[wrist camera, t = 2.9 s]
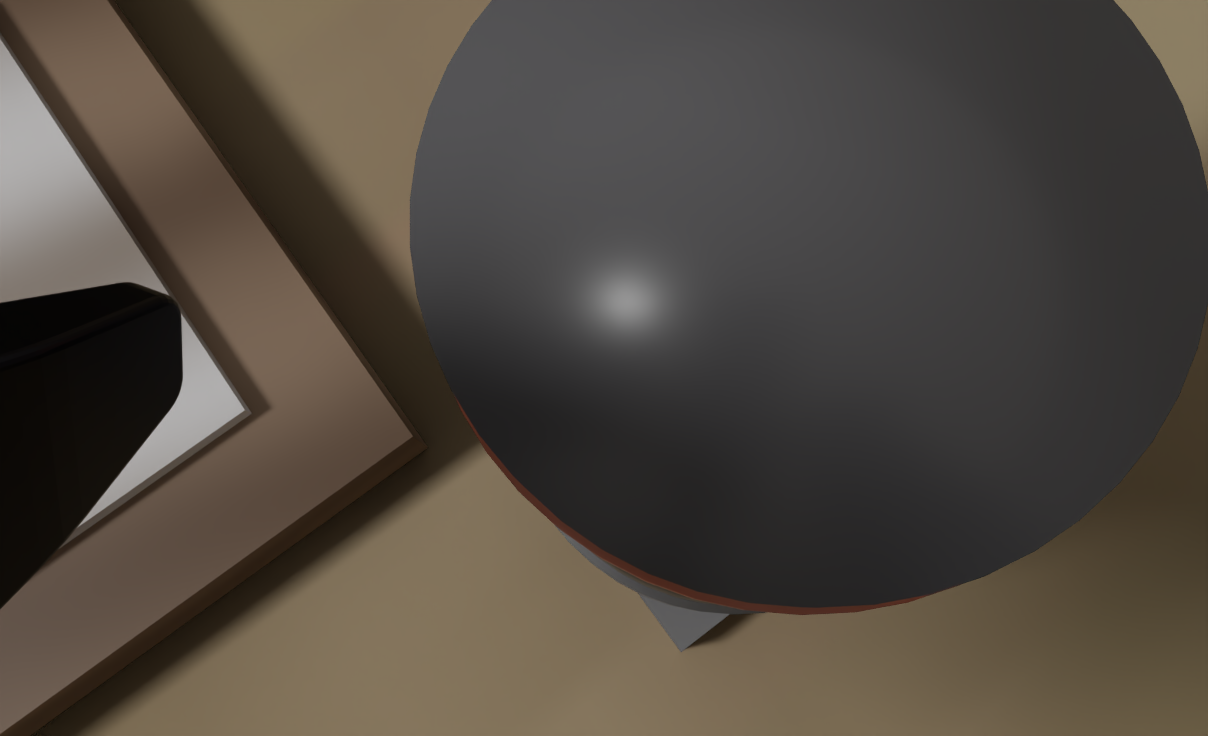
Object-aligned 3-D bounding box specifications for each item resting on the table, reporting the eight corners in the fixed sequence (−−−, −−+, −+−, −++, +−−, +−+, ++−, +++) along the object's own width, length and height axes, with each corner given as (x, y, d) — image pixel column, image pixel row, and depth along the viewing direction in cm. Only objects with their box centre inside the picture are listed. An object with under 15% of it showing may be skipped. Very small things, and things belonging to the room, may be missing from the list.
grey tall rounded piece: (932, 479, 17) (1413, 273, 6) (675, 680, 16) (734, 820, 6) (731, 237, 18) (853, -273, 8) (484, 416, 18) (244, 131, 7)
